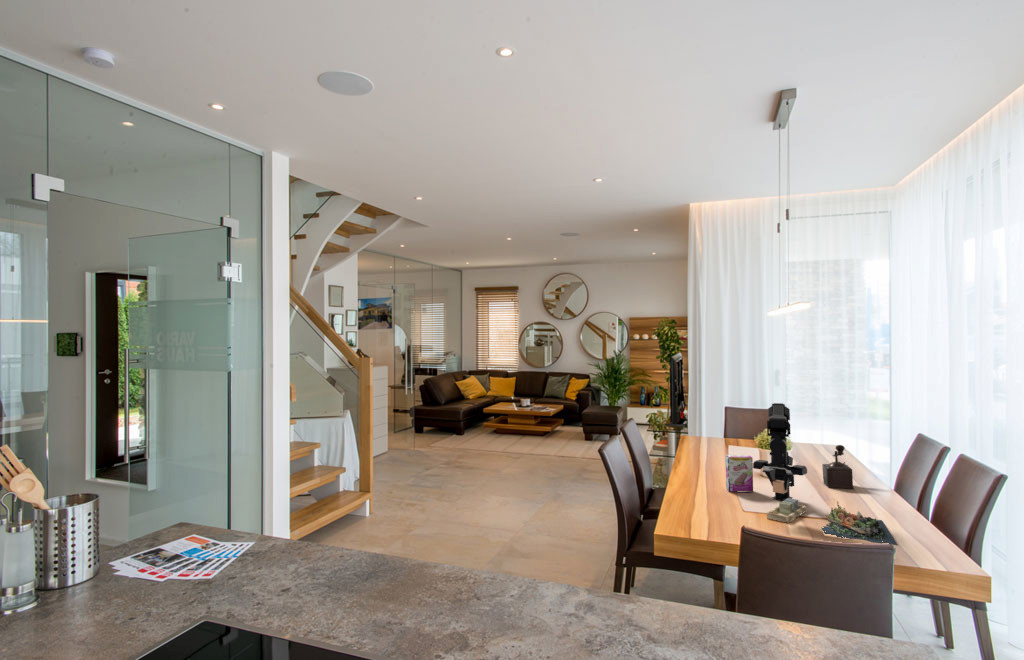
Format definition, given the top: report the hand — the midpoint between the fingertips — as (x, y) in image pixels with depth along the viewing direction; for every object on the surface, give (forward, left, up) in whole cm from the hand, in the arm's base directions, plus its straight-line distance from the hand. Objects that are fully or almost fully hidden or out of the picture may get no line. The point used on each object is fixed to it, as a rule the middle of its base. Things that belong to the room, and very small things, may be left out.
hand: (780, 489), depth 214 cm
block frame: (-5, 0, -11) cm, 12 cm away
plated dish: (-7, +23, -12) cm, 27 cm away
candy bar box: (-27, -28, -12) cm, 41 cm away
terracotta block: (0, 0, -1) cm, 1 cm away
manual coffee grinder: (-68, +1, -12) cm, 69 cm away
